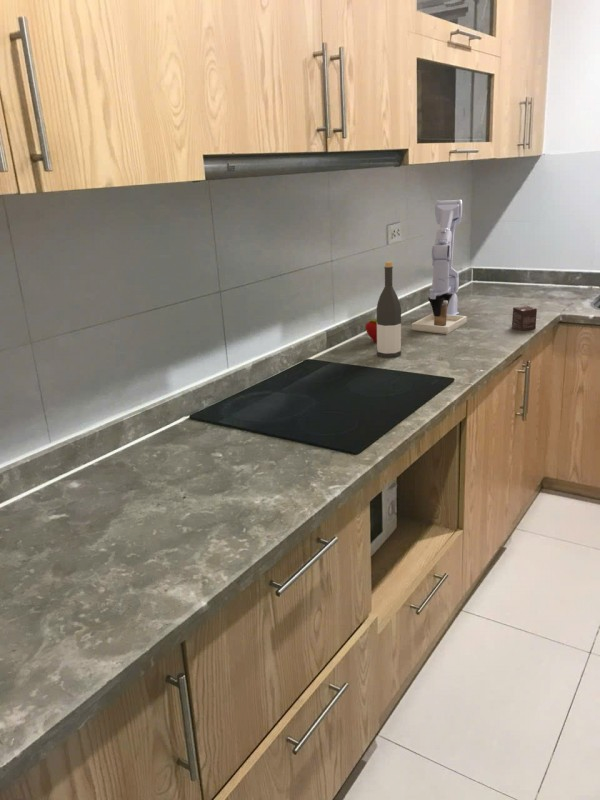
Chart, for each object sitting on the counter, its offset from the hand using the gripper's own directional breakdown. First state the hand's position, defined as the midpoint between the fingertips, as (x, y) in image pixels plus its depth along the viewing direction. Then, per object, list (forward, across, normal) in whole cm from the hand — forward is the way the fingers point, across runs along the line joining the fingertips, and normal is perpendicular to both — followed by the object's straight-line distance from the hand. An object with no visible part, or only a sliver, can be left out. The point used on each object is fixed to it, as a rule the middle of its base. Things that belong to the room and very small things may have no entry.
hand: (439, 314), depth 239 cm
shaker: (+4, 0, 0) cm, 4 cm away
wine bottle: (+5, +40, 0) cm, 40 cm away
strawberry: (+5, +29, -11) cm, 31 cm away
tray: (+4, 0, 0) cm, 4 cm away
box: (+5, -10, +28) cm, 30 cm away
